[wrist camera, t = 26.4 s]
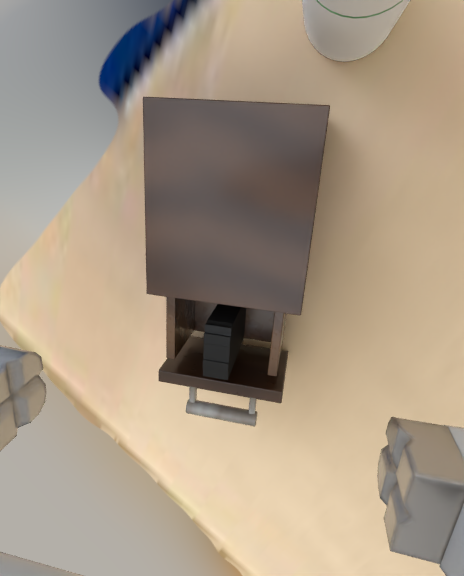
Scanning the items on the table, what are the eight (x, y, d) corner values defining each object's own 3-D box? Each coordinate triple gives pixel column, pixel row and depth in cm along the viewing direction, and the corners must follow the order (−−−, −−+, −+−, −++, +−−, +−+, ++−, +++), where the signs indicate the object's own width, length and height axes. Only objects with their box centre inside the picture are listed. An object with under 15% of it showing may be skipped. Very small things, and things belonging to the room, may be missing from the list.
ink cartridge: (225, 289, 37) (203, 324, 30) (247, 293, 37) (231, 328, 29) (222, 334, 39) (200, 377, 32) (243, 337, 39) (227, 382, 31)
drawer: (282, 398, 41) (275, 445, 35) (183, 380, 43) (158, 422, 37) (303, 234, 35) (300, 254, 28) (185, 222, 37) (157, 238, 30)
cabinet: (304, 278, 37) (300, 315, 29) (182, 263, 39) (146, 294, 31) (326, 117, 32) (330, 105, 24) (184, 109, 34) (142, 96, 26)
